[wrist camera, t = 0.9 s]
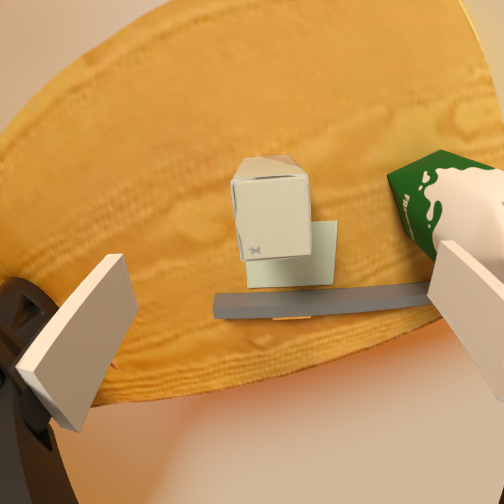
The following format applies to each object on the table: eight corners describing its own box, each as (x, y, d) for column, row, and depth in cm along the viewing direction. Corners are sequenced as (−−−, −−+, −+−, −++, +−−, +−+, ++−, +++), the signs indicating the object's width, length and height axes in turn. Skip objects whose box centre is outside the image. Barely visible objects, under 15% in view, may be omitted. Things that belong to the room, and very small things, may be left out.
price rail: (217, 308, 32) (215, 322, 30) (215, 293, 32) (212, 307, 29) (432, 294, 31) (441, 305, 29) (435, 280, 30) (445, 292, 28)
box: (293, 206, 27) (312, 262, 17) (247, 210, 28) (239, 267, 18) (289, 150, 25) (310, 173, 15) (241, 155, 25) (228, 179, 15)
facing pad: (247, 286, 31) (247, 287, 31) (243, 223, 28) (243, 224, 28) (332, 283, 31) (333, 284, 30) (337, 220, 28) (337, 221, 27)
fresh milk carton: (462, 211, 27) (589, 312, 8) (399, 245, 29) (509, 387, 11) (444, 137, 23) (609, 197, 5) (373, 170, 25) (532, 276, 7)
